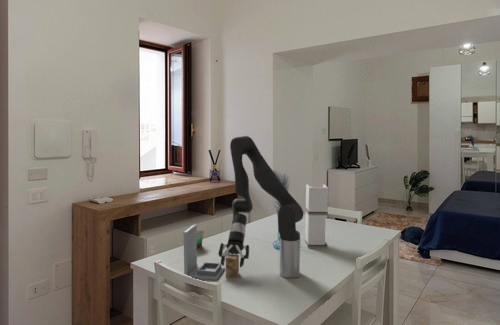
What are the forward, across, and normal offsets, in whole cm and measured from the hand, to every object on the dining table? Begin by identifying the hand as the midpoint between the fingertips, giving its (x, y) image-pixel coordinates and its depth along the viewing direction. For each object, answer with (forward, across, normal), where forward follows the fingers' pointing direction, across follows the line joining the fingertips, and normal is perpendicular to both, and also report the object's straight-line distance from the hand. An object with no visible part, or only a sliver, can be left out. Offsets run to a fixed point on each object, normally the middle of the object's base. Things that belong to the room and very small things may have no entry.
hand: (231, 265), depth 162 cm
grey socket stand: (+3, -13, +4) cm, 14 cm away
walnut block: (+3, 0, +4) cm, 5 cm away
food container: (-20, -30, +27) cm, 45 cm away
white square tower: (-33, +38, +40) cm, 65 cm away
